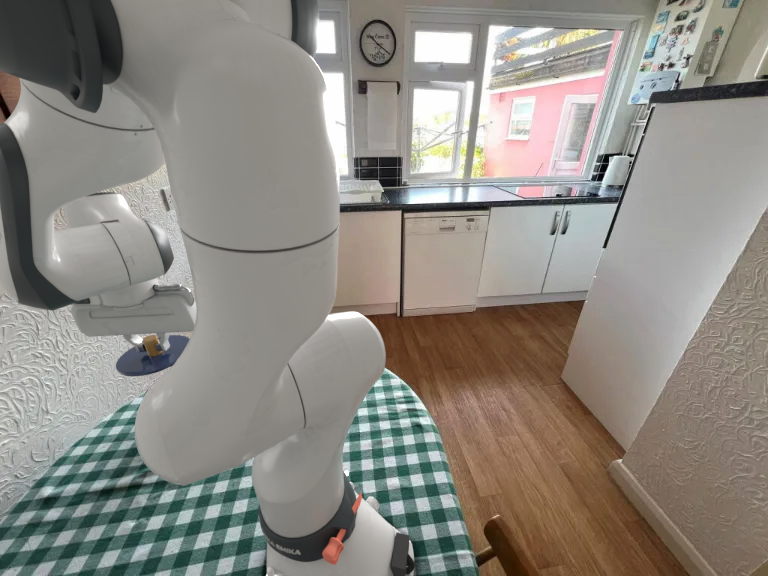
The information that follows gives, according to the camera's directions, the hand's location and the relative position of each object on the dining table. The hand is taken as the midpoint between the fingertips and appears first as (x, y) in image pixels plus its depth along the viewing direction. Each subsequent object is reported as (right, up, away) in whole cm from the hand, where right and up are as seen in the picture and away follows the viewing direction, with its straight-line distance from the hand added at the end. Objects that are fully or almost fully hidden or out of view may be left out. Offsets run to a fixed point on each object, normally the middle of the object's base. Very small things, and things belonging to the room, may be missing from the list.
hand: (154, 349), depth 61 cm
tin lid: (0, -1, +1) cm, 1 cm away
